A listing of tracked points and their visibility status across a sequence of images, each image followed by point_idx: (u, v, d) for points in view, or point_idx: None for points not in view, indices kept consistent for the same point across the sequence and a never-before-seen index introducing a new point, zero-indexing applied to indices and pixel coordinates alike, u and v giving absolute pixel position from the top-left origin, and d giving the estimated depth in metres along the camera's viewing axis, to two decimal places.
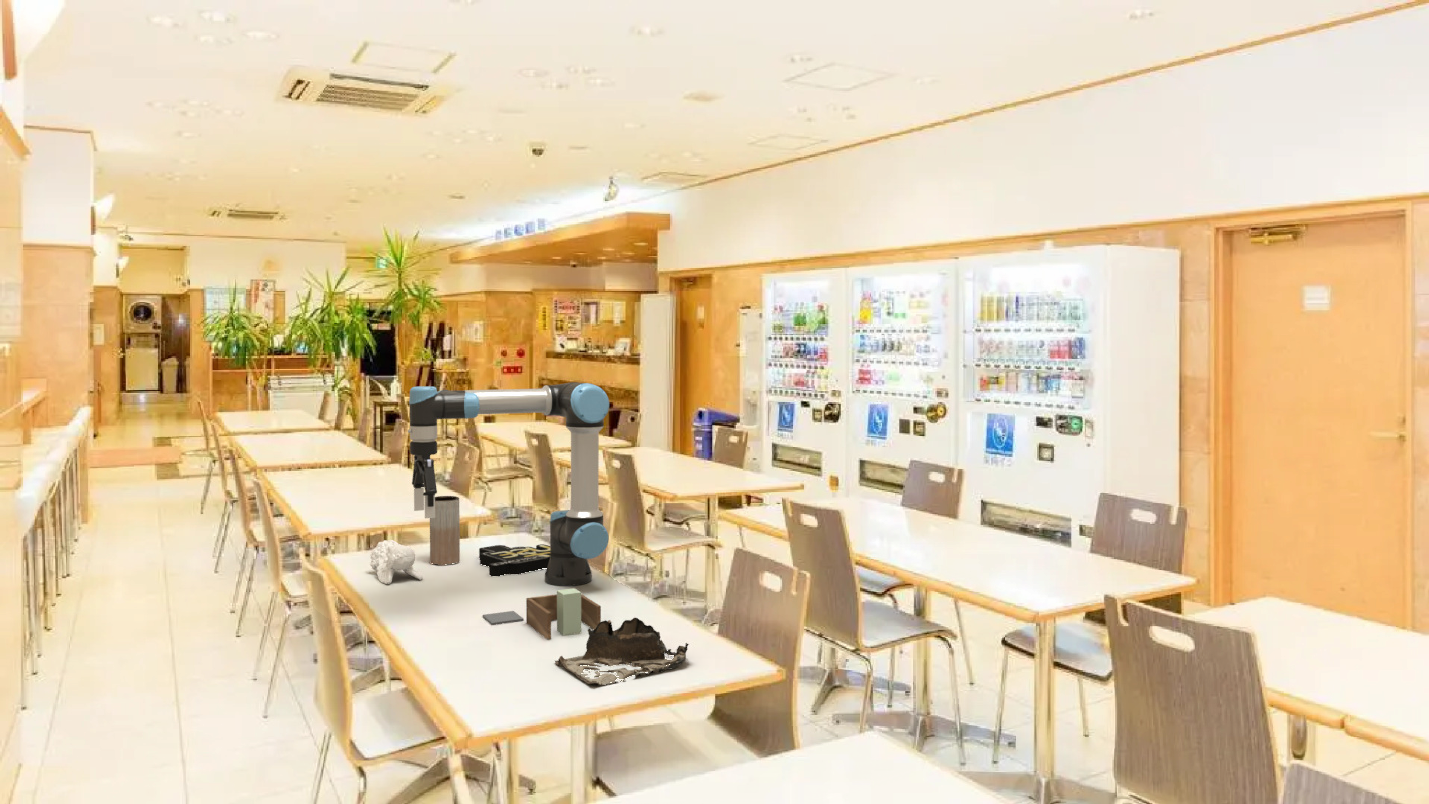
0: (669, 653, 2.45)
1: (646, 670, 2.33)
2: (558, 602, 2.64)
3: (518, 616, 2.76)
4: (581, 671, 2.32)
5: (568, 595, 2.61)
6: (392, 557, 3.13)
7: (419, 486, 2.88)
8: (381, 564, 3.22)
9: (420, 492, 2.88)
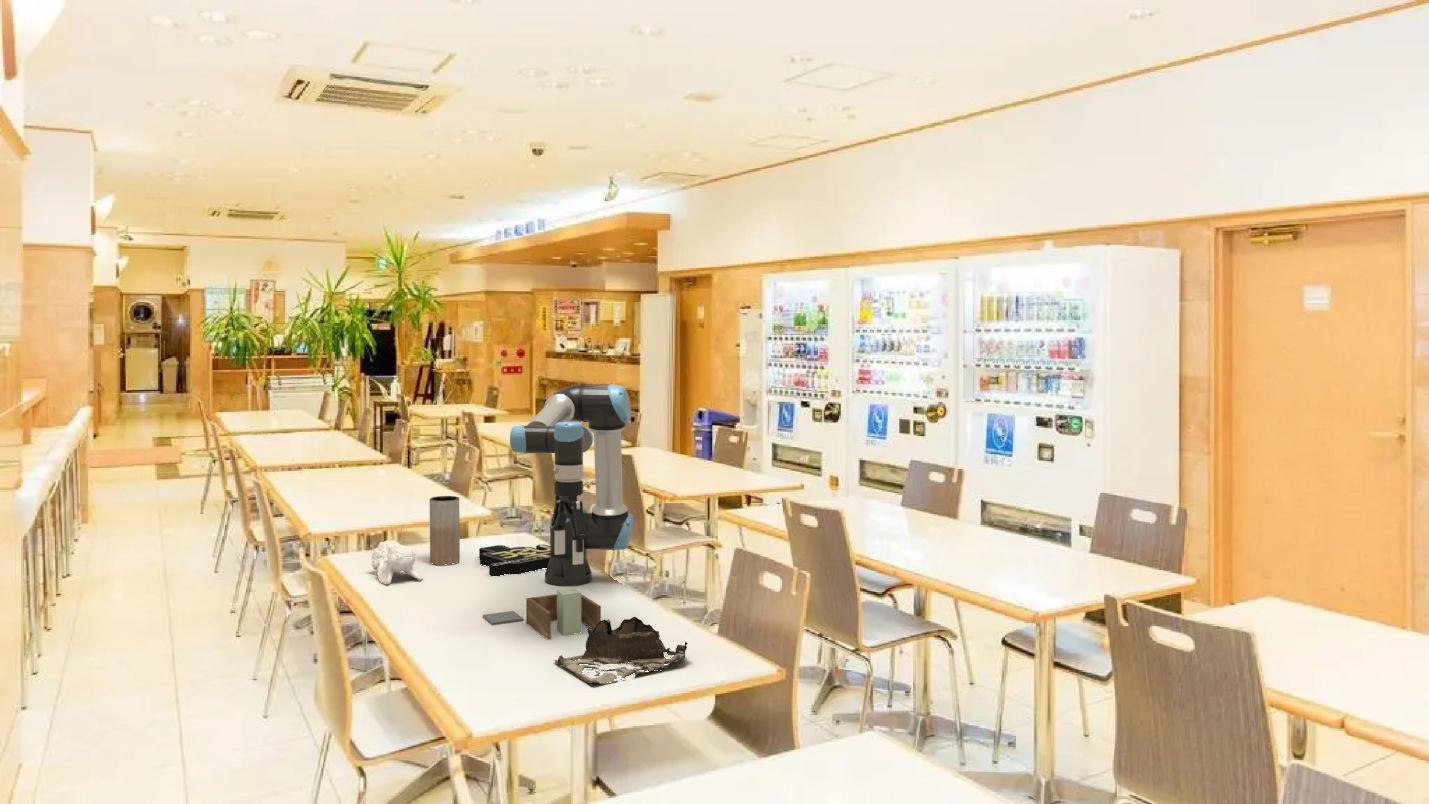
0: (668, 652, 2.46)
1: (646, 669, 2.33)
2: (558, 602, 2.64)
3: (518, 616, 2.76)
4: (581, 670, 2.33)
5: (568, 595, 2.61)
6: (392, 557, 3.12)
7: (560, 528, 2.69)
8: (382, 564, 3.21)
9: (561, 535, 2.68)
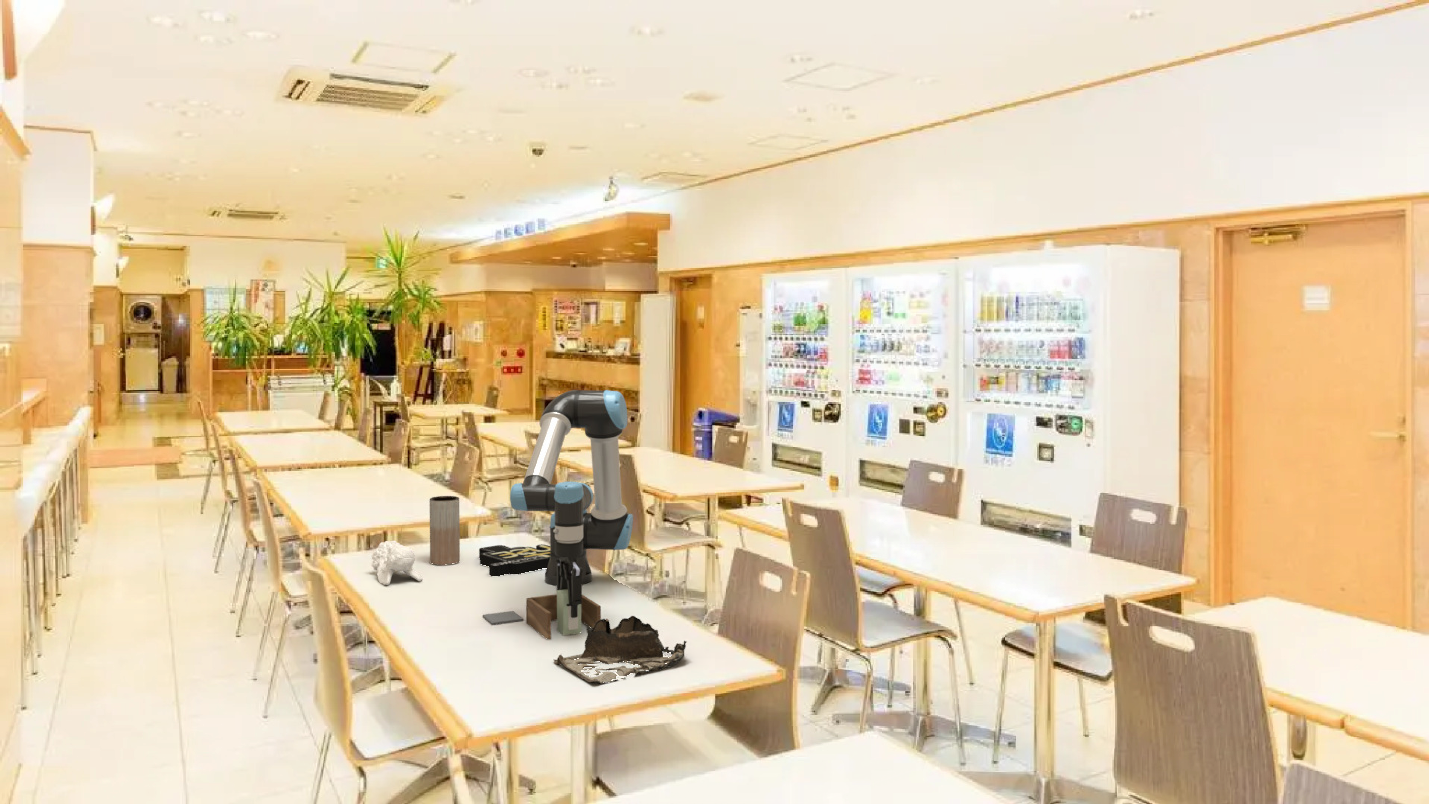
0: (667, 651, 2.47)
1: (645, 668, 2.34)
2: (558, 602, 2.63)
3: (518, 616, 2.76)
4: (581, 669, 2.33)
5: None
6: (391, 558, 3.12)
7: None
8: (381, 565, 3.21)
9: None
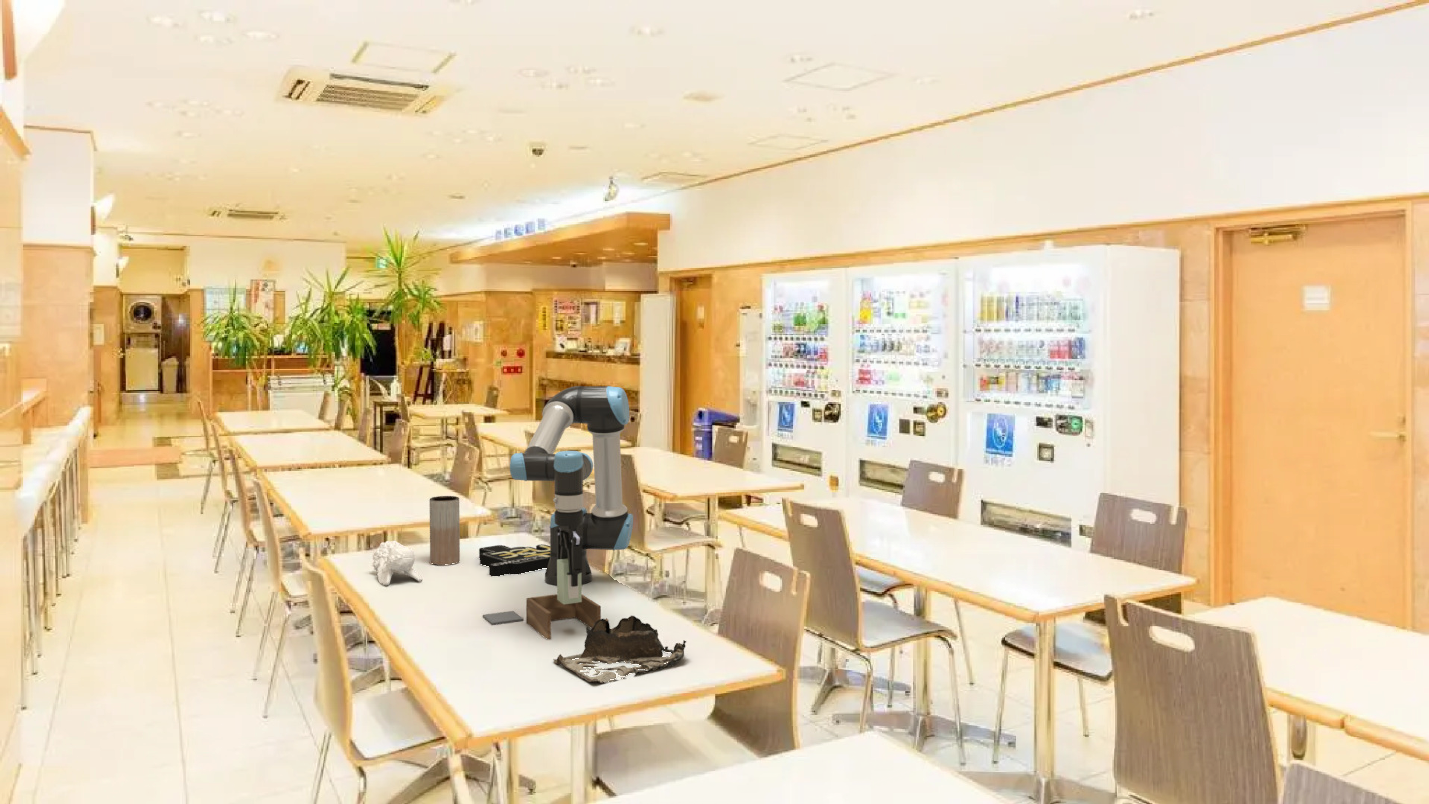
0: (666, 650, 2.47)
1: (645, 667, 2.35)
2: (558, 571, 2.63)
3: (518, 616, 2.76)
4: (580, 669, 2.34)
5: (568, 564, 2.60)
6: (391, 558, 3.11)
7: None
8: (382, 565, 3.20)
9: None
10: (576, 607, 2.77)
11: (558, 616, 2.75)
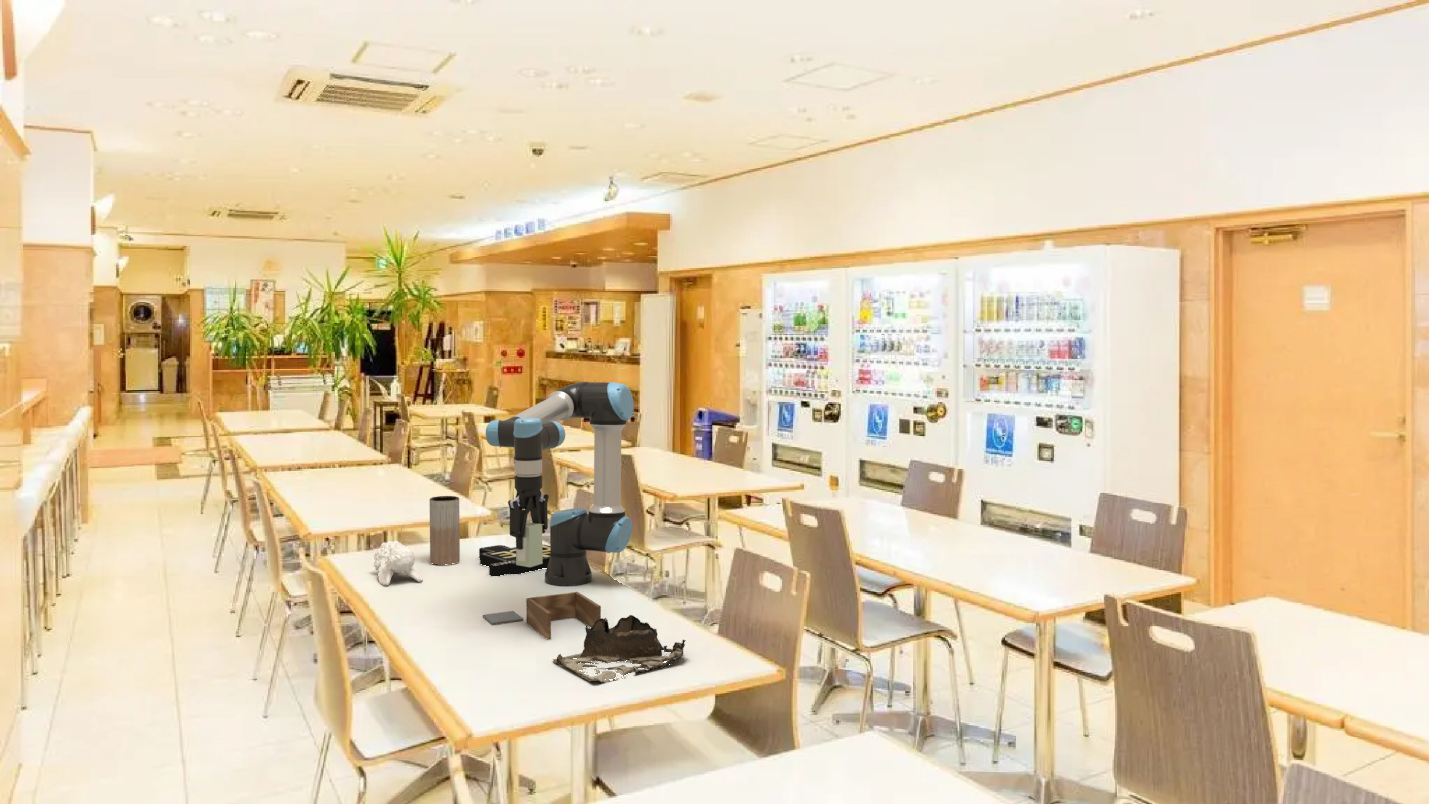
0: (665, 650, 2.48)
1: (645, 667, 2.35)
2: None
3: (518, 616, 2.76)
4: (580, 669, 2.34)
5: None
6: (391, 558, 3.11)
7: None
8: (383, 565, 3.20)
9: None
10: (576, 607, 2.77)
11: (558, 616, 2.75)
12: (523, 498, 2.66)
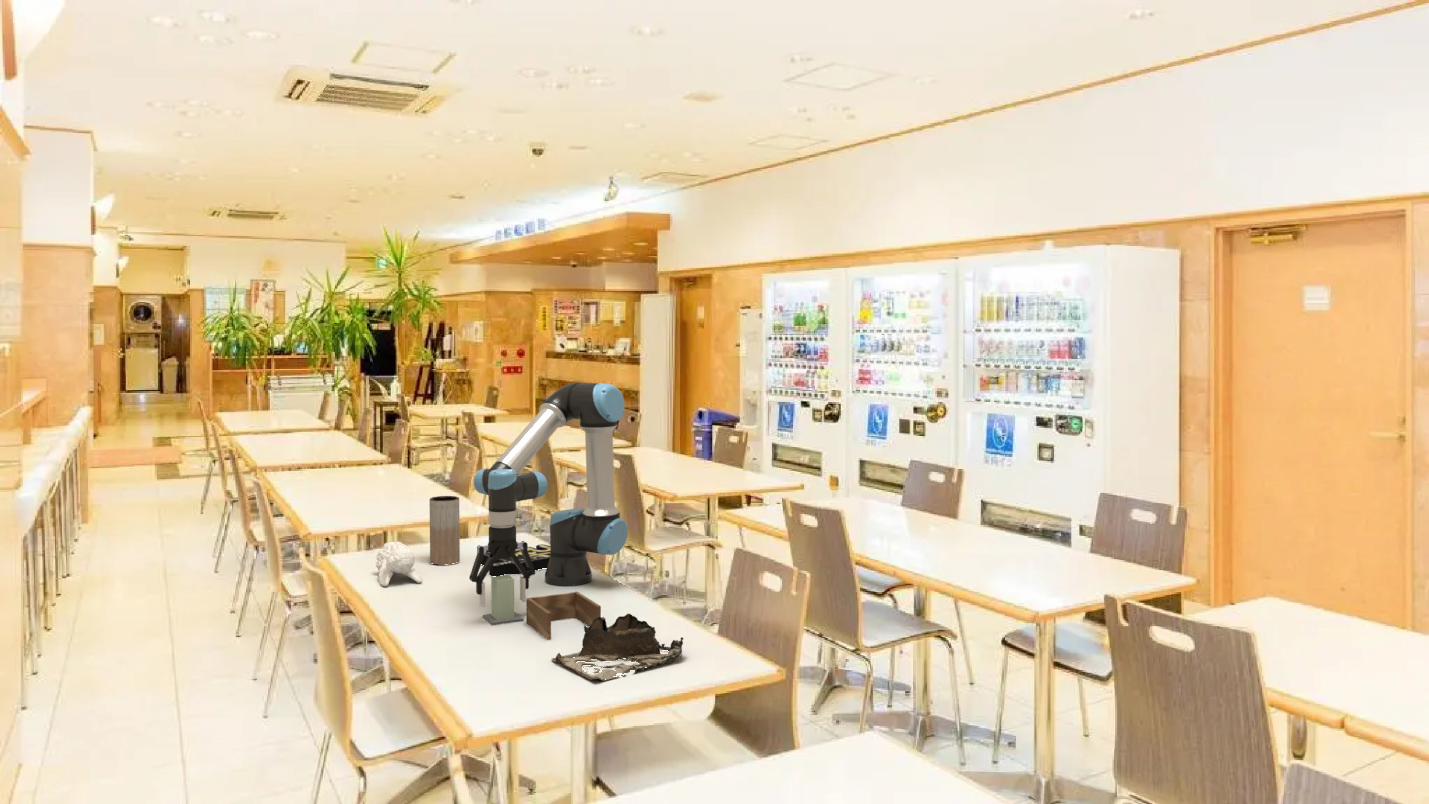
0: (663, 648, 2.49)
1: (644, 665, 2.36)
2: None
3: (518, 616, 2.76)
4: (580, 667, 2.35)
5: (492, 579, 2.75)
6: (390, 559, 3.10)
7: (524, 575, 2.78)
8: (384, 566, 3.19)
9: (521, 582, 2.77)
10: (576, 607, 2.77)
11: (558, 616, 2.75)
12: (492, 548, 2.72)
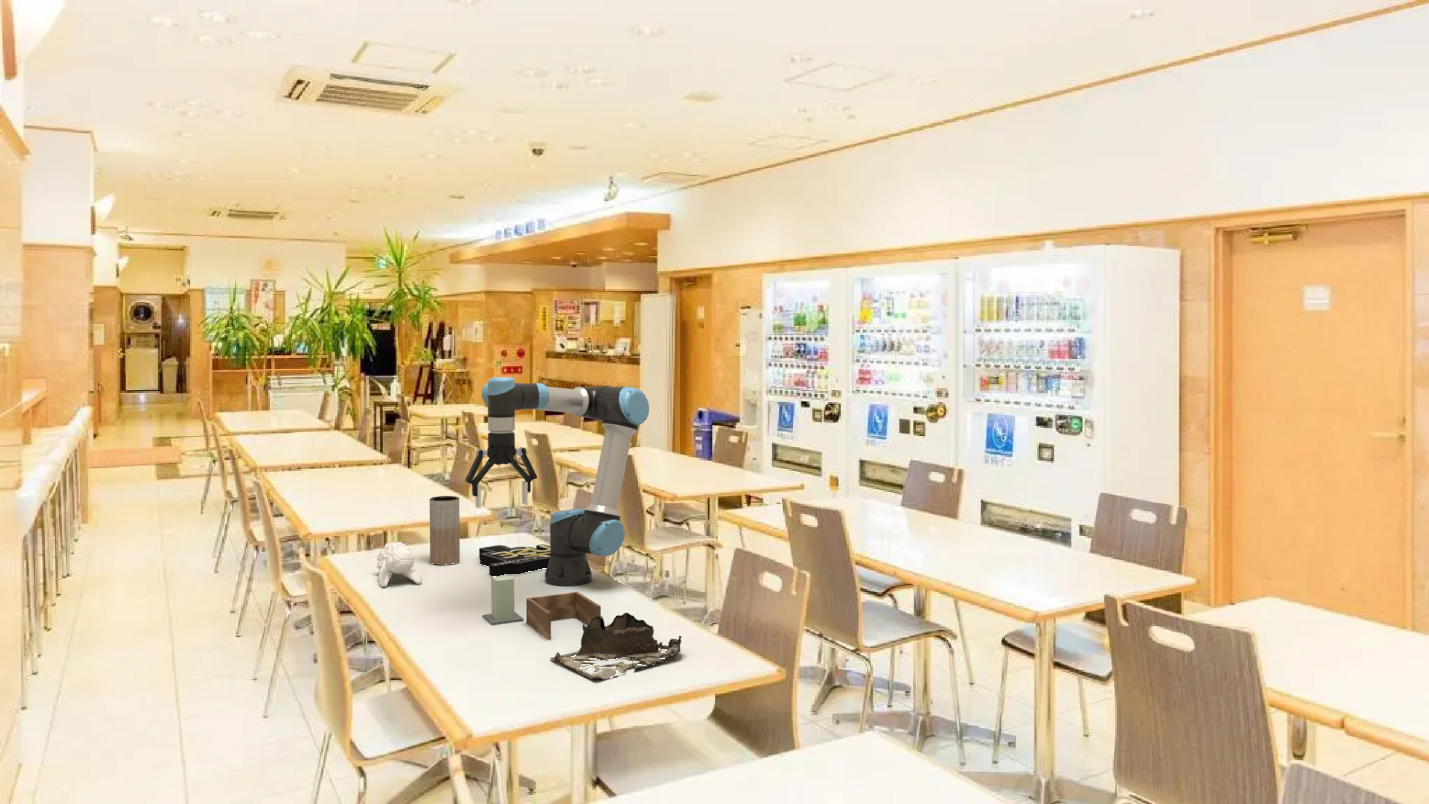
0: (660, 646, 2.51)
1: (643, 663, 2.38)
2: None
3: (518, 616, 2.76)
4: (579, 667, 2.35)
5: (492, 579, 2.75)
6: (389, 560, 3.09)
7: (526, 480, 2.84)
8: (384, 566, 3.19)
9: (523, 486, 2.83)
10: (576, 607, 2.77)
11: (558, 616, 2.75)
12: (491, 453, 2.77)
